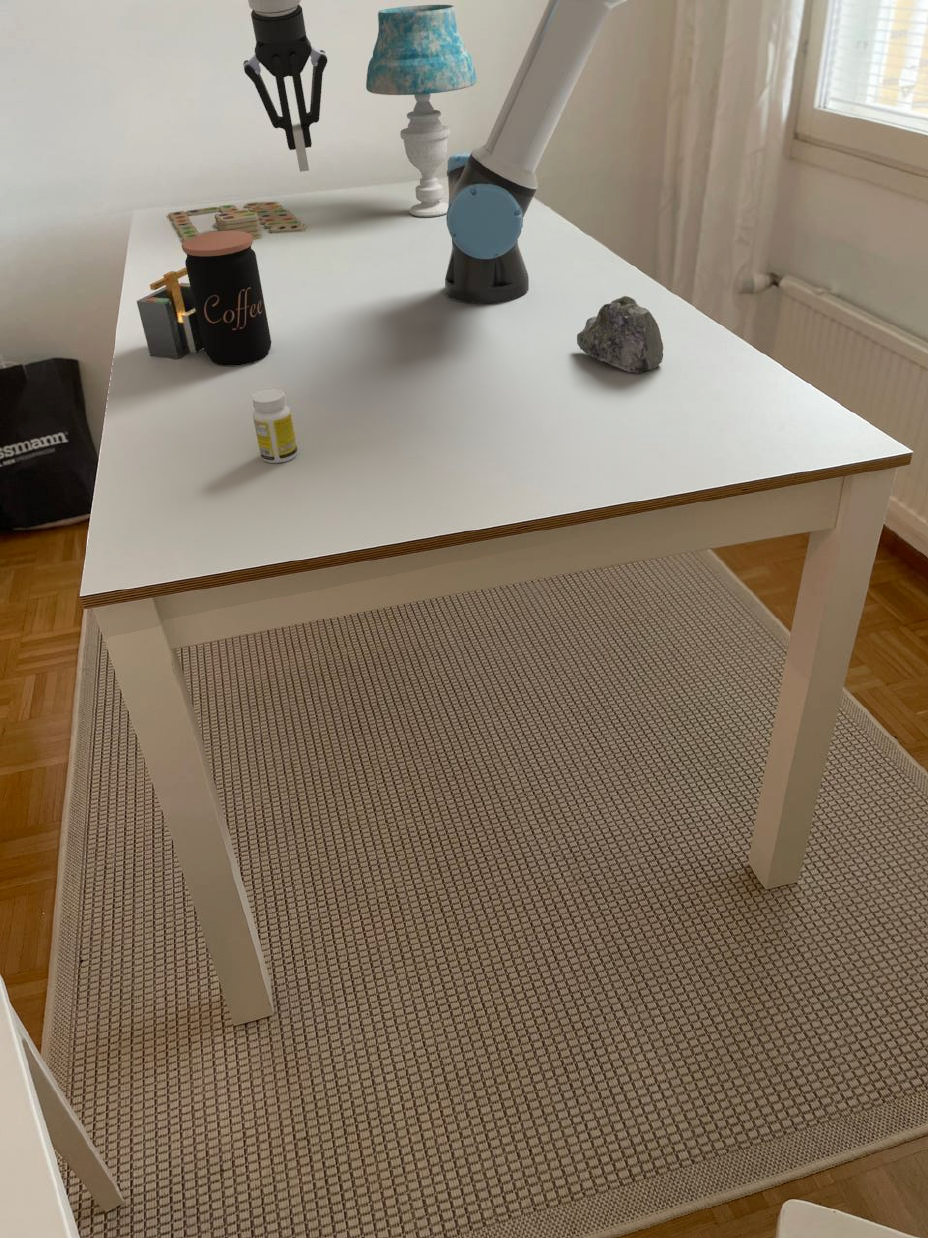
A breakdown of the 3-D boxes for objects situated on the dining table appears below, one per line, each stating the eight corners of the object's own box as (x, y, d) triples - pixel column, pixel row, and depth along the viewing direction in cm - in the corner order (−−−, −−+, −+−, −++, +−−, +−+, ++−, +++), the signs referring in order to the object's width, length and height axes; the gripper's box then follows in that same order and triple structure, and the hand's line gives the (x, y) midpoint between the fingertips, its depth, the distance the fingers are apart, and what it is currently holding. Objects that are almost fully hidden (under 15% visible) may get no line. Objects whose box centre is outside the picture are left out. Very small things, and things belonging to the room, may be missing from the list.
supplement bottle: (299, 446, 130) (289, 386, 125) (296, 462, 126) (285, 401, 121) (263, 449, 130) (251, 389, 125) (258, 465, 126) (246, 404, 121)
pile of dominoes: (311, 233, 219) (307, 207, 216) (189, 252, 212) (183, 226, 209) (276, 201, 246) (273, 178, 242) (167, 217, 238) (162, 193, 235)
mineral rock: (573, 349, 152) (573, 284, 146) (639, 341, 154) (643, 276, 148) (597, 380, 142) (599, 312, 136) (668, 371, 143) (673, 303, 137)
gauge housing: (211, 339, 165) (199, 284, 159) (178, 359, 158) (164, 301, 153) (184, 336, 167) (171, 281, 162) (150, 355, 160) (135, 299, 155)
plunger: (227, 334, 163) (213, 266, 157) (193, 354, 156) (178, 284, 150) (199, 330, 165) (185, 264, 159) (165, 350, 158) (148, 281, 152)
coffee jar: (208, 371, 153) (183, 253, 143) (204, 349, 162) (179, 235, 151) (276, 361, 155) (256, 244, 145) (268, 339, 164) (248, 226, 153)
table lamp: (369, 207, 233) (347, 9, 209) (464, 194, 238) (454, 0, 214) (393, 231, 214) (373, 17, 191) (496, 216, 219) (489, 6, 196)
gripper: (317, -8, 146) (340, 151, 164) (229, 3, 145) (262, 162, 163) (323, 10, 141) (345, 171, 159) (232, 22, 140) (266, 183, 158)
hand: (303, 166), depth 161 cm, fingers closed
